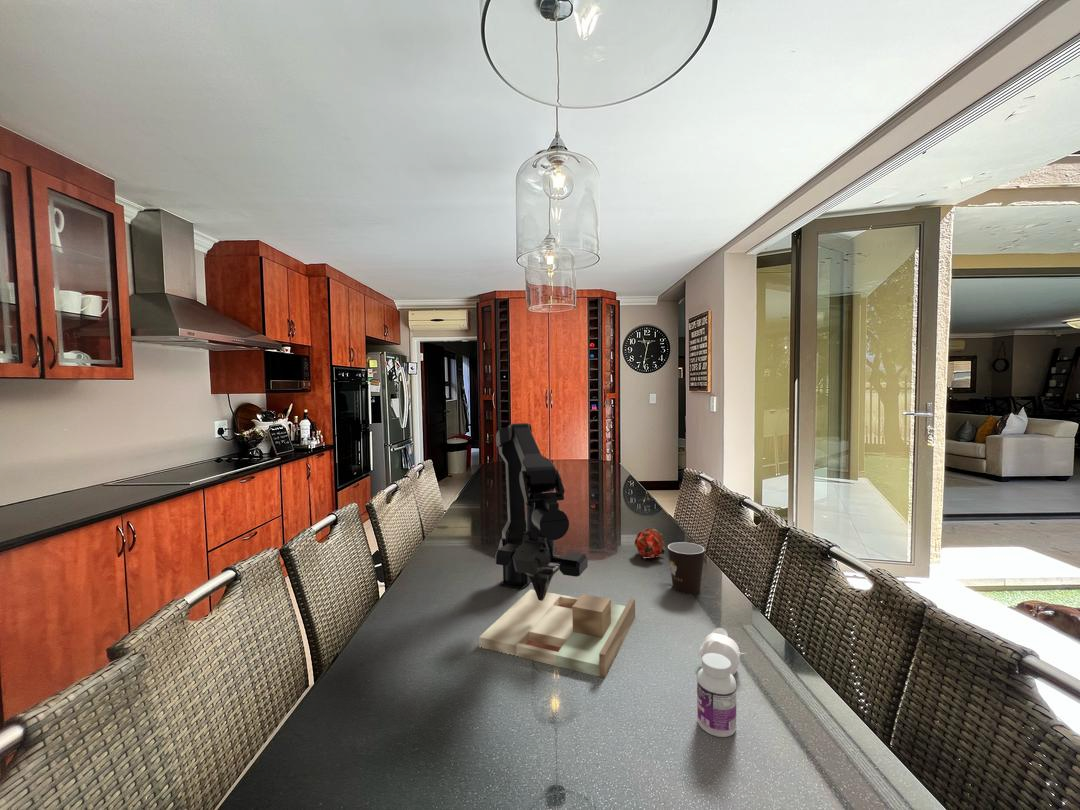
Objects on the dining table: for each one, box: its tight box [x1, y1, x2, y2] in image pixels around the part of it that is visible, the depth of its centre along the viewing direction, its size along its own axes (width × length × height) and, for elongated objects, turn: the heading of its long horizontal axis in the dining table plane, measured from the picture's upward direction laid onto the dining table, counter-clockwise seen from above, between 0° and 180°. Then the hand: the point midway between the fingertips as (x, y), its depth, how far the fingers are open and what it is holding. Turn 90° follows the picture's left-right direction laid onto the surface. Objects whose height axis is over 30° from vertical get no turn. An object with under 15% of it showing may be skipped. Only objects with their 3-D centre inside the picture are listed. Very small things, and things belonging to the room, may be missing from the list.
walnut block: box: [572, 593, 612, 638], centre depth 92 cm, size 6×6×5 cm
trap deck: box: [478, 589, 636, 679], centre depth 94 cm, size 25×23×4 cm
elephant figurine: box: [698, 627, 748, 676], centre depth 81 cm, size 7×8×6 cm
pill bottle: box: [696, 653, 737, 738], centre depth 67 cm, size 5×5×10 cm
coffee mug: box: [667, 541, 705, 595], centre depth 115 cm, size 12×9×10 cm
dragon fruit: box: [633, 528, 666, 560], centre depth 136 cm, size 8×8×12 cm
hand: (541, 599), depth 96 cm, fingers closed
